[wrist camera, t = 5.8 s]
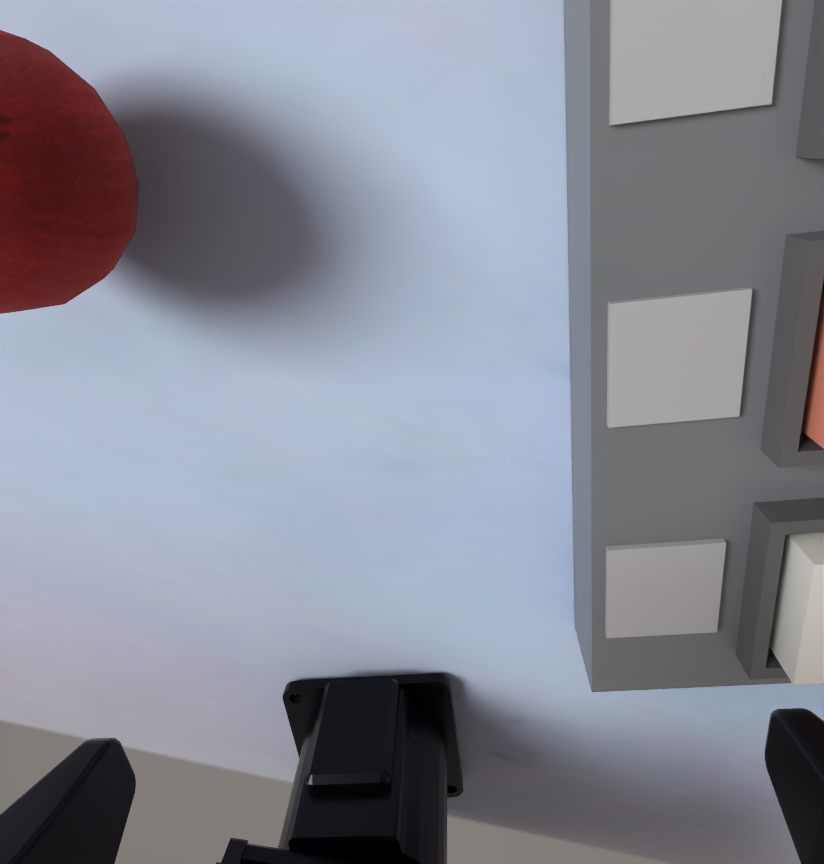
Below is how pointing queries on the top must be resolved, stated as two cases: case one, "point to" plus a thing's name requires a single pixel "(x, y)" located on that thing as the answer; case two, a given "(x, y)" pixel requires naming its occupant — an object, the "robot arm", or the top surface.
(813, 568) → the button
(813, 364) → the button middle
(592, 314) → the button panel
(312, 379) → the top surface
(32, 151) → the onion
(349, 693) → the robot arm
